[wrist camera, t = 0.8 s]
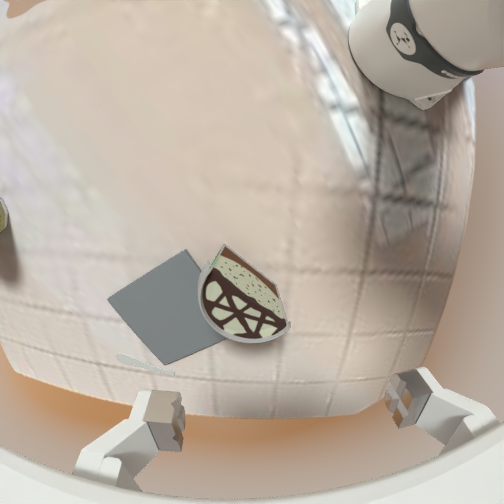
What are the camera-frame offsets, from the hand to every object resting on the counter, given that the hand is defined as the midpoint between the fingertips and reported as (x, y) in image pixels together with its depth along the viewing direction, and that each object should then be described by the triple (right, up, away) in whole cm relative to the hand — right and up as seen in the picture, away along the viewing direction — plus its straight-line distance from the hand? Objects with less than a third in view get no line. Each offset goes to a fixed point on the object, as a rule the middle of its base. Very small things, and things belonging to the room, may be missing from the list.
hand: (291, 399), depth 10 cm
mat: (-13, -4, +33) cm, 36 cm away
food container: (-4, +2, +32) cm, 32 cm away
